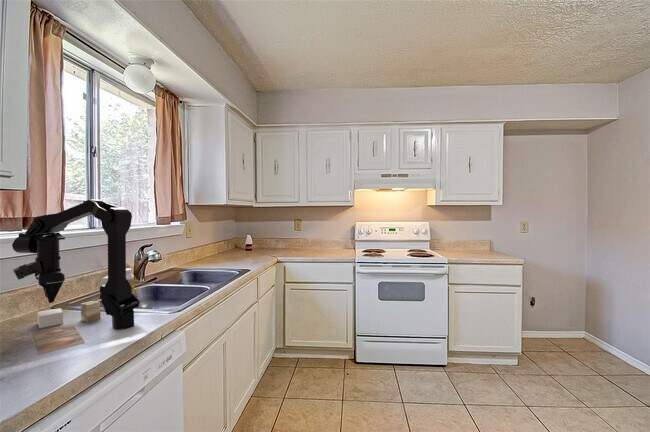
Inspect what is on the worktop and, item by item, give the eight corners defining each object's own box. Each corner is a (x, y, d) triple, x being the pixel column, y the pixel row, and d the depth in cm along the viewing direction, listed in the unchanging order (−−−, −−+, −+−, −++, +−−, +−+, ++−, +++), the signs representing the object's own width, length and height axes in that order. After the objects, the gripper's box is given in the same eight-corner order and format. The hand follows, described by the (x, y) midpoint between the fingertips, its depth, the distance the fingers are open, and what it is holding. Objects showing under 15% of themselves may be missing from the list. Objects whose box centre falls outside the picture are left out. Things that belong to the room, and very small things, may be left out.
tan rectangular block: (100, 321, 112) (100, 301, 112) (88, 325, 109) (87, 305, 109) (93, 320, 114) (93, 300, 114) (81, 323, 110) (80, 303, 110)
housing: (63, 326, 108) (62, 312, 107) (39, 331, 103) (38, 316, 103) (60, 322, 112) (60, 308, 112) (37, 326, 108) (37, 312, 107)
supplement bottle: (120, 301, 137) (119, 271, 137) (114, 298, 141) (113, 269, 141) (137, 297, 142) (136, 269, 142) (130, 295, 146) (130, 267, 146)
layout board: (85, 347, 92) (85, 342, 92) (38, 358, 85) (38, 354, 84) (72, 327, 107) (72, 323, 107) (32, 335, 100) (32, 332, 100)
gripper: (13, 253, 108) (15, 299, 108) (16, 259, 95) (17, 311, 95) (56, 250, 116) (57, 293, 116) (64, 255, 103) (65, 303, 103)
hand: (49, 299), depth 107 cm, fingers open, 9 cm apart
